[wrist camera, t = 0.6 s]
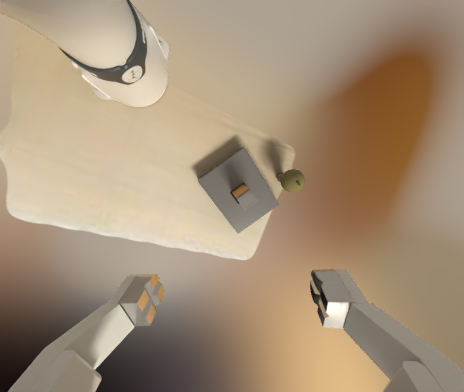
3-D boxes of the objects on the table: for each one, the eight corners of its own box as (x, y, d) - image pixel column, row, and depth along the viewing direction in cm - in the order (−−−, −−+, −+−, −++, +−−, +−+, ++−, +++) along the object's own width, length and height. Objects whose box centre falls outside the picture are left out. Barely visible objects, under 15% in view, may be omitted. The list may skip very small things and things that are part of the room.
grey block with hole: (198, 179, 45) (197, 181, 41) (241, 148, 45) (244, 147, 41) (235, 228, 50) (238, 233, 46) (274, 200, 50) (279, 204, 46)
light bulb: (267, 181, 48) (283, 188, 38) (276, 163, 47) (295, 166, 38) (282, 190, 49) (302, 198, 40) (292, 172, 49) (314, 177, 39)
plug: (229, 190, 46) (236, 199, 37) (240, 182, 46) (250, 189, 37) (236, 199, 47) (245, 210, 38) (247, 191, 47) (258, 201, 38)
